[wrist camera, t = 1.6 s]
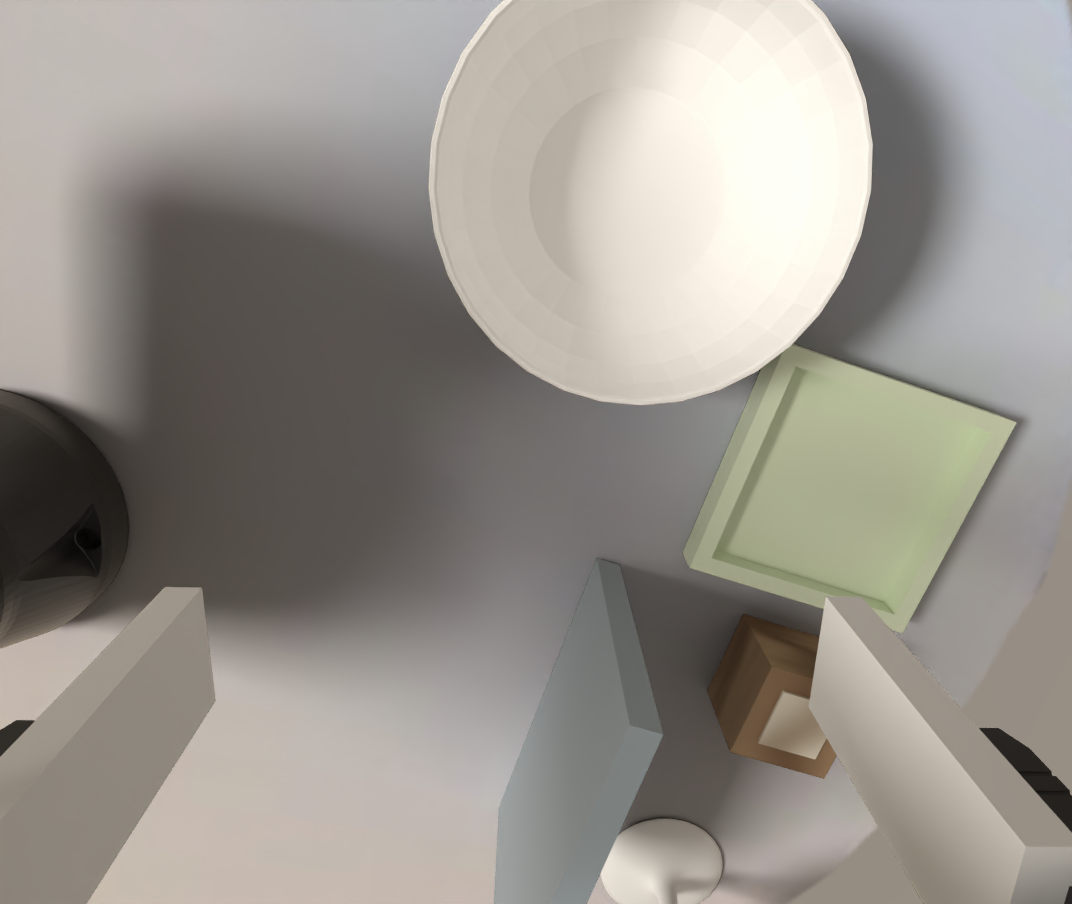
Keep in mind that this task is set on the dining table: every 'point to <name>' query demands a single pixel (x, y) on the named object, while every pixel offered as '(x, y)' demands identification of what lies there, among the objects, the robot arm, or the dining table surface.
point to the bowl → (649, 187)
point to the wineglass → (662, 864)
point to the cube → (770, 697)
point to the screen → (579, 755)
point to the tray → (843, 485)
